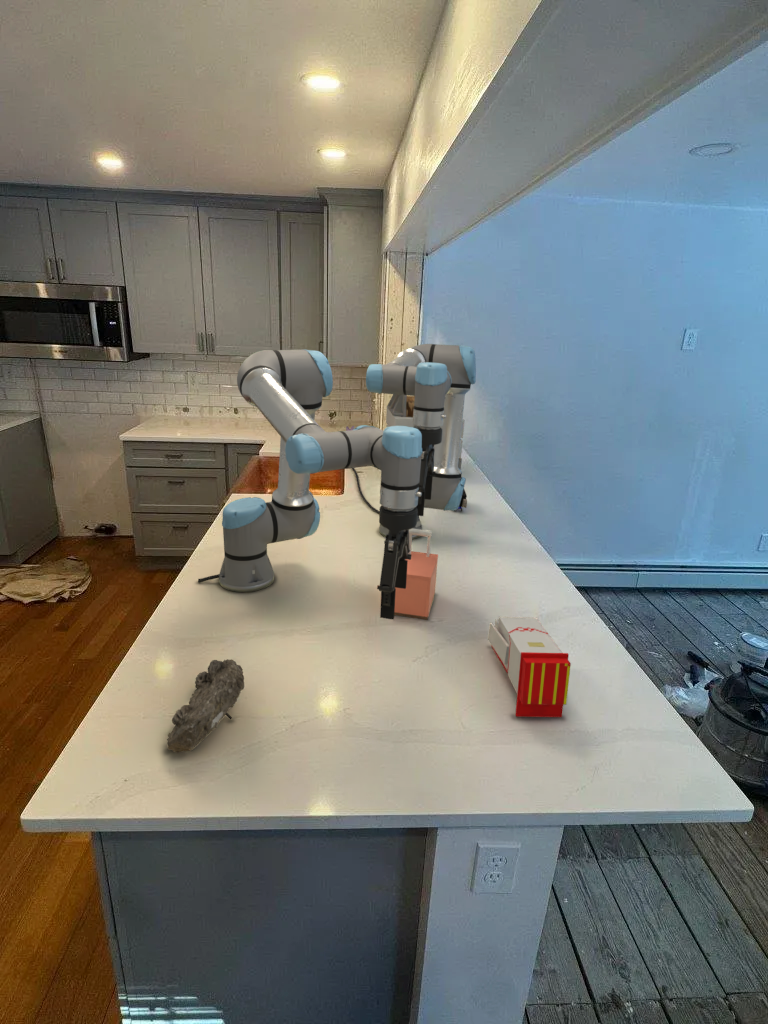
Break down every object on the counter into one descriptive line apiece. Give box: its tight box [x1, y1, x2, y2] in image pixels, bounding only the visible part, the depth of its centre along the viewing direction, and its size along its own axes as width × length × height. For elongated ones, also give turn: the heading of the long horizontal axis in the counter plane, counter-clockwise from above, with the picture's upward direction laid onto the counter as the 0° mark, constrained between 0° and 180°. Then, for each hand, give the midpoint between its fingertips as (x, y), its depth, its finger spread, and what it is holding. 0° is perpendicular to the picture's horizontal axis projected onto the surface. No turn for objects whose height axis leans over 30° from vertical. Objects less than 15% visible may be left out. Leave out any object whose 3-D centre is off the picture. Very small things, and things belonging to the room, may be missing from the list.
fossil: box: [166, 658, 245, 754], centre depth 106 cm, size 22×10×15 cm
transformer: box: [385, 394, 465, 471], centre depth 268 cm, size 34×33×41 cm
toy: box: [487, 616, 572, 718], centre depth 123 cm, size 12×13×30 cm
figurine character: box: [453, 489, 468, 512], centre depth 228 cm, size 7×8×15 cm
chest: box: [394, 558, 439, 621], centre depth 151 cm, size 14×10×11 cm
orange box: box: [406, 528, 439, 581], centre depth 148 cm, size 15×10×8 cm
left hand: (393, 601), depth 119 cm, fingers open, 13 cm apart
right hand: (422, 506), depth 149 cm, fingers open, 13 cm apart
